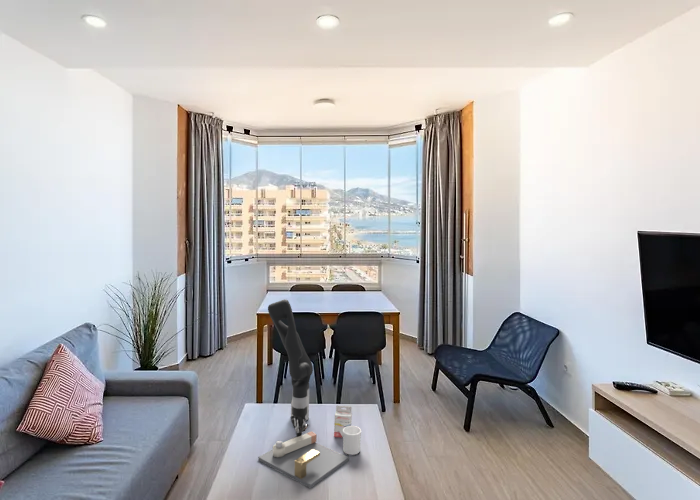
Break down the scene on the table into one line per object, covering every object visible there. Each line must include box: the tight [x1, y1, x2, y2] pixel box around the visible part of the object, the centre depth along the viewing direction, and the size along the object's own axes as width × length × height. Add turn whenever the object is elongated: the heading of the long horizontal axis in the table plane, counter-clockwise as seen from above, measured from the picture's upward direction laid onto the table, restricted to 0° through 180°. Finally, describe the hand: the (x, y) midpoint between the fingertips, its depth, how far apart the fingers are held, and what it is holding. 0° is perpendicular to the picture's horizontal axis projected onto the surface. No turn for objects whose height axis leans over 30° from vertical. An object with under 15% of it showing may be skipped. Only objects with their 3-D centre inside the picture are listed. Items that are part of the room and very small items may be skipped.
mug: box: [342, 425, 362, 456], centre depth 197 cm, size 11×9×10 cm
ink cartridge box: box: [333, 405, 353, 439], centre depth 210 cm, size 9×5×15 cm, turn 84°
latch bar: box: [272, 431, 317, 458], centre depth 194 cm, size 23×6×6 cm, turn 132°
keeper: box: [295, 449, 320, 479], centre depth 177 cm, size 4×12×8 cm, turn 143°
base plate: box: [258, 436, 350, 489], centre depth 188 cm, size 32×26×2 cm
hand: (298, 438), depth 201 cm, fingers closed
